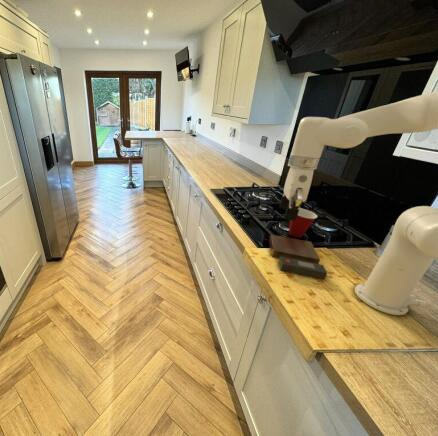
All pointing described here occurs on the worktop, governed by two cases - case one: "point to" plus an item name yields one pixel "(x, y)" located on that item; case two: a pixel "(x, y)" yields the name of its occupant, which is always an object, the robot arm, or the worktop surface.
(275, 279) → the worktop surface
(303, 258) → the block
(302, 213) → the plastic cup
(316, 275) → the remote
